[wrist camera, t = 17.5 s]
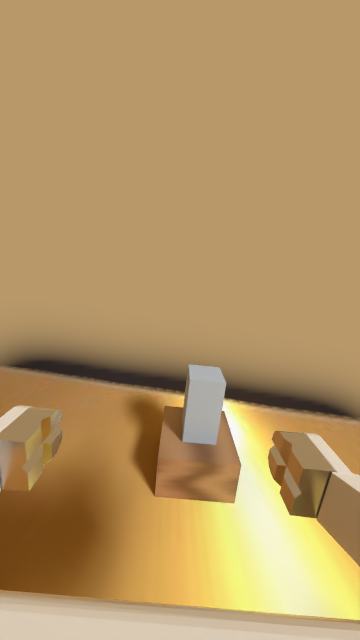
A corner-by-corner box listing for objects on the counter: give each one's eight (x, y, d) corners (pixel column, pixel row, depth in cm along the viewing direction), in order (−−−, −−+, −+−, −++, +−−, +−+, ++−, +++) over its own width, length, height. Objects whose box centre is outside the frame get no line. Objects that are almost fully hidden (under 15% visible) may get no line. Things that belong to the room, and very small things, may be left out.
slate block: (182, 441, 27) (189, 380, 25) (182, 418, 31) (188, 364, 29) (216, 444, 27) (226, 383, 25) (211, 421, 31) (219, 367, 29)
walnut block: (154, 498, 25) (157, 457, 24) (162, 436, 35) (164, 406, 34) (233, 504, 25) (241, 464, 24) (219, 441, 35) (224, 411, 34)
